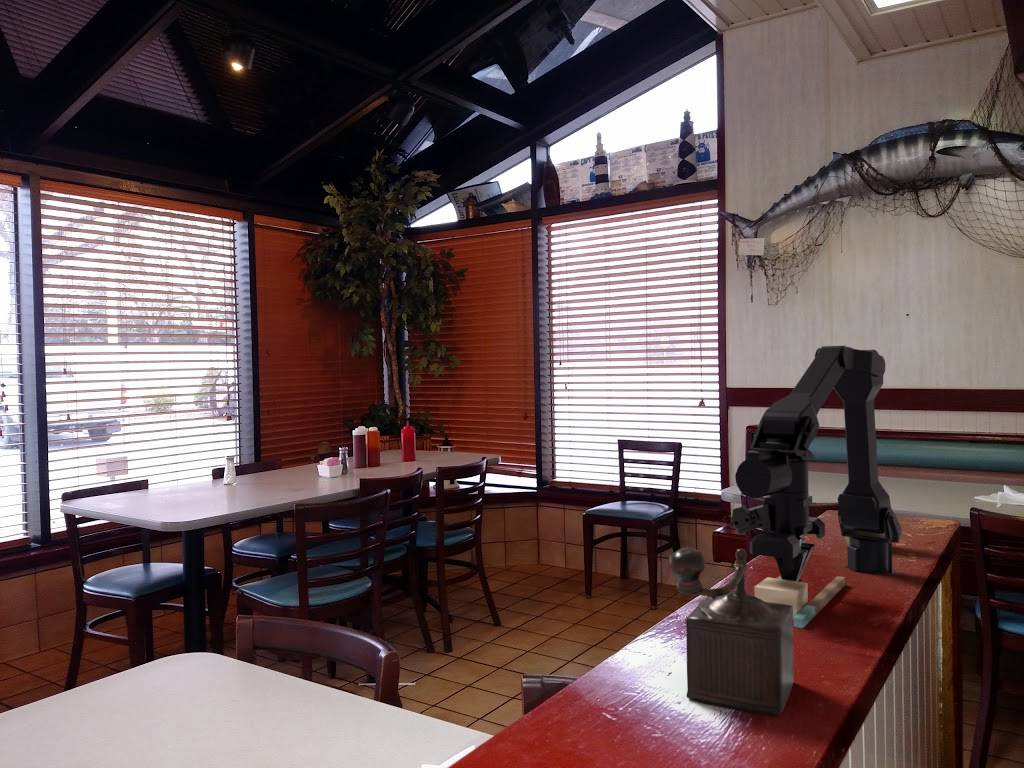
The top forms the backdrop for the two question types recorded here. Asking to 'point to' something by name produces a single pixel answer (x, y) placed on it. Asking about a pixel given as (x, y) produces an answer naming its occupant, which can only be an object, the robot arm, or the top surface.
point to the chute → (818, 602)
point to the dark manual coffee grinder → (735, 641)
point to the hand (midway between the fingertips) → (789, 591)
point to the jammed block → (783, 593)
